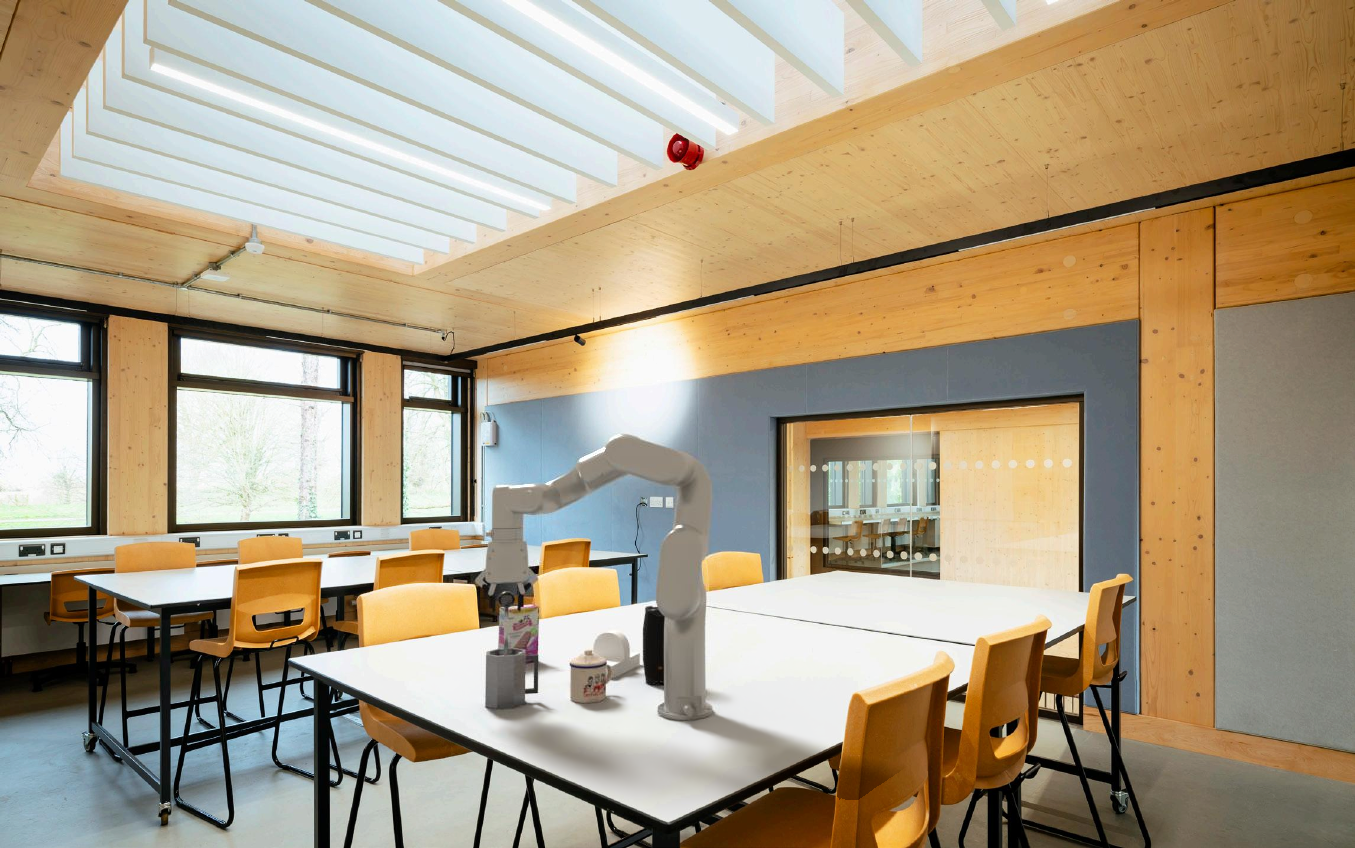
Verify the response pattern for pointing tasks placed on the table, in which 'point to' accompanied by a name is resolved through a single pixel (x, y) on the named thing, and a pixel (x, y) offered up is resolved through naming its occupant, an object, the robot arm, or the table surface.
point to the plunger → (506, 614)
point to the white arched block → (616, 652)
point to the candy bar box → (521, 629)
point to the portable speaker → (653, 645)
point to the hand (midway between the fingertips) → (506, 610)
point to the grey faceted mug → (508, 678)
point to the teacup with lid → (589, 678)
